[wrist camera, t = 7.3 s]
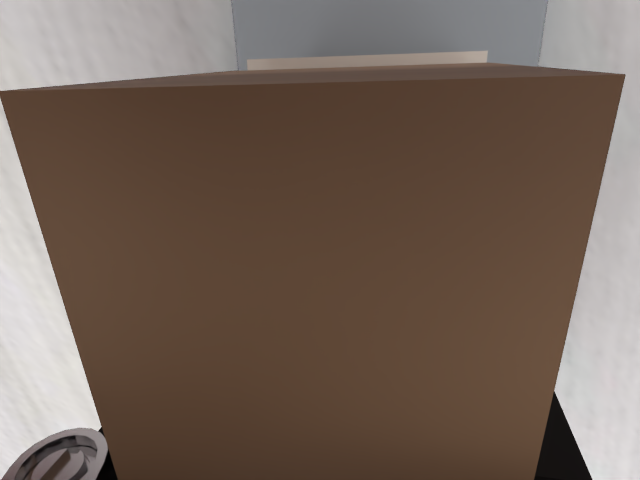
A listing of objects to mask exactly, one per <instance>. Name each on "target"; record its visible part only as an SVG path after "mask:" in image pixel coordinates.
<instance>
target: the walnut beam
mask: <svg viewBox="0 0 640 480" xmlns="http://www.w3.org/2000/svg"><path fill="white" fill-rule="evenodd" d="M624 79H625V74H614V73H603V72H591V71H580V70H569V69H557V68H546V67H535V66H523V65H512V64H501V63H489V62H487V63H457V64H427V65H396V66H366V67H336V68H306V69H276V70H246V71H226V72H214V73H203V74H191V75H180V76H168V77H157V78H145V79H134V80H122V81H111V82H99V83H87V84H76V85H64V86H53V87H41V88H30V89H18V90H7V91H0V98H1V101H2V105H3V108H4V111H5V114H6V118H7V121H8V124H9V127H10V131H11V134H12V137H13V140H14V144H15V147H16V150H17V153H18V157H19V160H20V163H21V166H22V169H23V173H24V176H25V179H26V182H27V186H28V189H29V192H30V195H31V199H32V202H33V205H34V208H35V212H36V215H37V218H38V221H39V225H40V228H41V231H42V234H43V238H44V241H45V244H46V247H47V251H48V254H49V257H50V260H51V264H52V267H53V270H54V273H55V277H56V280H57V283H58V286H59V290H60V293H61V296H62V299H63V303H64V306H65V309H66V312H67V316H68V319H69V322H70V325H71V329H72V332H73V335H74V338H75V342H76V345H77V348H78V351H79V355H80V358H81V361H82V364H83V368H84V371H85V374H86V377H87V381H88V384H89V387H90V390H91V394H92V397H93V400H94V403H95V407H96V410H97V413H98V416H99V420H100V423H101V426H102V429H103V433H104V436H105V439H106V442H107V446H108V449H109V452H110V455H111V459H112V462H113V465H114V468H115V472H116V475H117V478H118V480H534V477H535V473H536V468H537V464H538V460H539V455H540V451H541V446H542V442H543V437H544V433H545V429H546V424H547V420H548V415H549V411H550V406H551V402H552V398H553V393H554V389H555V384H556V380H557V375H558V371H559V367H560V362H561V358H562V353H563V349H564V344H565V340H566V336H567V331H568V327H569V322H570V318H571V313H572V309H573V305H574V300H575V296H576V291H577V287H578V283H579V278H580V274H581V269H582V265H583V260H584V256H585V252H586V247H587V243H588V238H589V234H590V229H591V225H592V221H593V216H594V212H595V207H596V203H597V198H598V194H599V190H600V185H601V181H602V176H603V172H604V167H605V163H606V159H607V154H608V150H609V145H610V141H611V136H612V132H613V128H614V123H615V119H616V114H617V110H618V105H619V101H620V97H621V92H622V88H623V83H624Z"/></svg>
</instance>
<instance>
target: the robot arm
mask: <svg viewBox="0 0 640 480" xmlns="http://www.w3.org/2000/svg"><path fill="white" fill-rule="evenodd" d="M1 480H118V478H117V475H116V472H115V468H114V465H113V462H112V459H111V455H110V452H109V449H108V446H107V442H106V439H105V436H104V433H103V429H102V427H101V428H100V430H99V431H96V430H93V429H89V428H75V429H69V430H64V431H61V432H59V433H56V434H53V435H50V436H48V437H47V438H45V439H43V440H41V441H39V442H38V443H36V444H34V445H33V446H32V447H30V448H29V449H28V450H27V451H25V452H24V453H23V454H21V455H20V457H19V458H18V459H17V460H16V461H15V462H14V463H13V464H12V466H11V467H10V468H9V469H8V471H7V472H6V474H5V475H4V476H3V478H2V479H1ZM534 480H592V478H591V475H590V473H589V471H588V468H587V466H586V464H585V462H584V459H583V457H582V455H581V452H580V450H579V448H578V445H577V443H576V441H575V438H574V436H573V434H572V431H571V429H570V427H569V424H568V422H567V420H566V417H565V415H564V413H563V410H562V408H561V406H560V403H559V401H558V399H557V397H556V394H555V392H554V393H553V398H552V402H551V406H550V411H549V415H548V420H547V424H546V429H545V433H544V437H543V442H542V446H541V451H540V455H539V460H538V464H537V468H536V473H535V477H534Z"/></svg>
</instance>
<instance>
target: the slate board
mask: <svg viewBox="0 0 640 480" xmlns="http://www.w3.org/2000/svg"><path fill="white" fill-rule="evenodd" d="M231 2H232V12H233V22H234V32H235V42H236V52H237V62H238V71H246V70H248V69H247V59H273V58H301V57H328V56H355V55H383V54H410V53H437V52H465V51H488V55H487V62H489V63H501V64H512V65H523V66H535V67H538V62H539V56H540V49H541V43H542V36H543V30H544V23H545V17H546V10H547V4H548V0H231Z"/></svg>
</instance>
